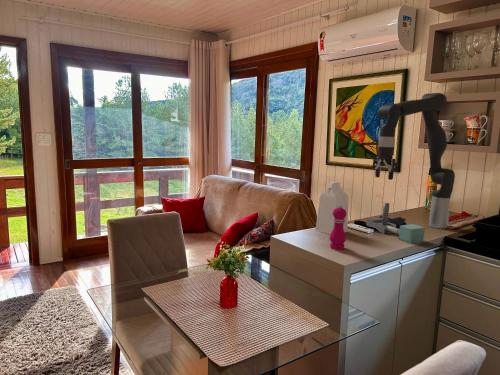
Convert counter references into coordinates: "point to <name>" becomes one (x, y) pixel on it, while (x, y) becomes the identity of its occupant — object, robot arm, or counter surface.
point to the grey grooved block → (379, 225)
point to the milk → (331, 208)
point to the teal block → (411, 233)
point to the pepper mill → (338, 229)
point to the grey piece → (385, 219)
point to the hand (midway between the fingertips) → (383, 178)
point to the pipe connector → (397, 221)
